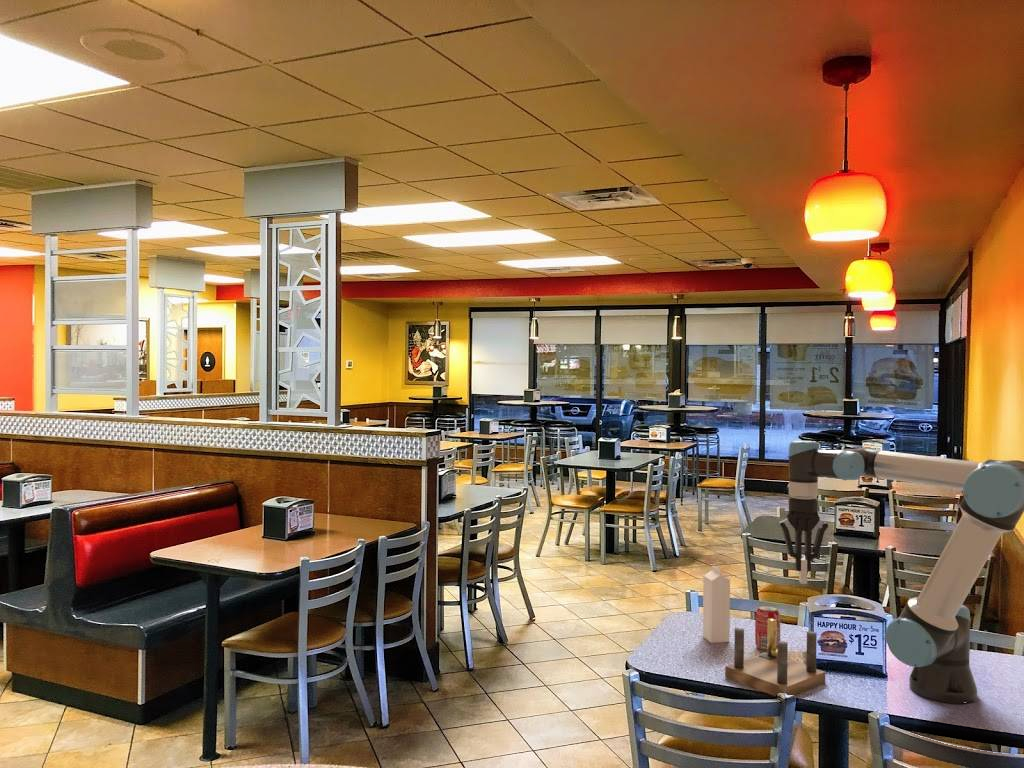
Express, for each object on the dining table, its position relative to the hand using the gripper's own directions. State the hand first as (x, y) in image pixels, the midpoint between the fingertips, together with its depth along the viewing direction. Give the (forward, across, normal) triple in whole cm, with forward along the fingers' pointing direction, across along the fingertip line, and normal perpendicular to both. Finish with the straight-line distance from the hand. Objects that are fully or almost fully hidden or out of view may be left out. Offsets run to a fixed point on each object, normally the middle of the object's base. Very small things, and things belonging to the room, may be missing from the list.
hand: (803, 582), depth 215 cm
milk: (+23, +21, -21) cm, 38 cm away
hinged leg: (+20, +8, +1) cm, 21 cm away
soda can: (+24, +6, -15) cm, 29 cm away
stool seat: (+24, +10, +10) cm, 27 cm away
